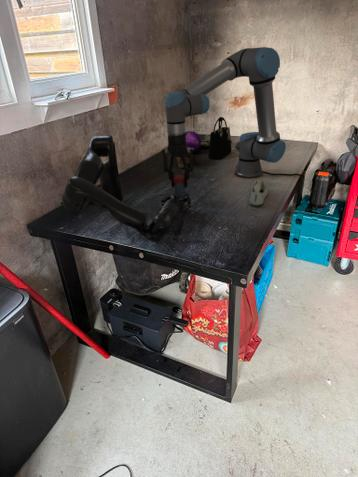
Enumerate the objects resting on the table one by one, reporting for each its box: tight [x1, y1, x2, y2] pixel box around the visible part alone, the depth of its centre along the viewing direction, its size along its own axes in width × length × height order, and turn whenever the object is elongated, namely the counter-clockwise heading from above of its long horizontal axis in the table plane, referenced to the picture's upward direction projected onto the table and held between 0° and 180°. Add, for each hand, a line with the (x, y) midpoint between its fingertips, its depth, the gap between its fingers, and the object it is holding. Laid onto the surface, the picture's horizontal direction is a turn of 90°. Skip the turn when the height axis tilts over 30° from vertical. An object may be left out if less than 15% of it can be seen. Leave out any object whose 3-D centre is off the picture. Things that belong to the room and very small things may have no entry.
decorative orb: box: [185, 130, 202, 154], centre depth 230 cm, size 15×15×15 cm
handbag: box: [207, 116, 232, 160], centre depth 218 cm, size 21×9×25 cm, turn 148°
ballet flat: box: [249, 179, 269, 207], centre depth 158 cm, size 8×24×8 cm, turn 163°
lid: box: [173, 174, 185, 183], centre depth 145 cm, size 5×5×2 cm
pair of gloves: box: [199, 134, 233, 149], centre depth 252 cm, size 30×26×5 cm
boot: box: [175, 150, 189, 169], centre depth 209 cm, size 9×24×20 cm, turn 168°
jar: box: [173, 182, 187, 213], centre depth 149 cm, size 5×5×15 cm
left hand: (181, 195), depth 152 cm, fingers closed on jar, 4 cm apart
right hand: (179, 186), depth 147 cm, fingers closed on lid, 5 cm apart
